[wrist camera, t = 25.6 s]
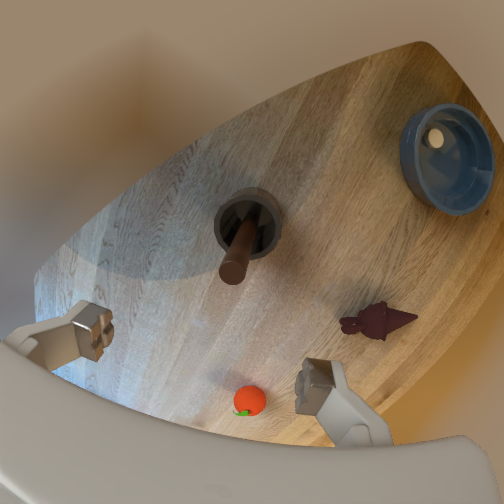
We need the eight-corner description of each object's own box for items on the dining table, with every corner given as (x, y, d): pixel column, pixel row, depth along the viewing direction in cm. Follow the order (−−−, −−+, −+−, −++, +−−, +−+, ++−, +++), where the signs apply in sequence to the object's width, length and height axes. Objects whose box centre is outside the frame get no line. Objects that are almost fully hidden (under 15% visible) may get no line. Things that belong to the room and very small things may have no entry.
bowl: (378, 141, 38) (392, 140, 32) (443, 90, 33) (461, 85, 27) (430, 226, 42) (447, 236, 36) (487, 173, 37) (506, 177, 31)
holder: (213, 211, 44) (200, 224, 37) (255, 175, 42) (250, 180, 34) (249, 252, 46) (244, 272, 39) (292, 218, 44) (295, 232, 36)
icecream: (425, 302, 40) (341, 311, 43) (422, 342, 40) (341, 352, 43) (412, 292, 46) (337, 299, 50) (410, 328, 47) (338, 336, 50)
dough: (420, 133, 36) (425, 133, 34) (433, 125, 35) (438, 125, 34) (429, 150, 37) (434, 151, 35) (441, 142, 36) (446, 142, 34)
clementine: (244, 403, 59) (241, 427, 52) (225, 387, 58) (220, 411, 51) (273, 392, 57) (271, 416, 50) (254, 375, 55) (251, 399, 49)
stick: (240, 219, 44) (213, 271, 25) (251, 209, 43) (232, 255, 24) (251, 230, 44) (231, 290, 26) (262, 220, 44) (251, 274, 25)
